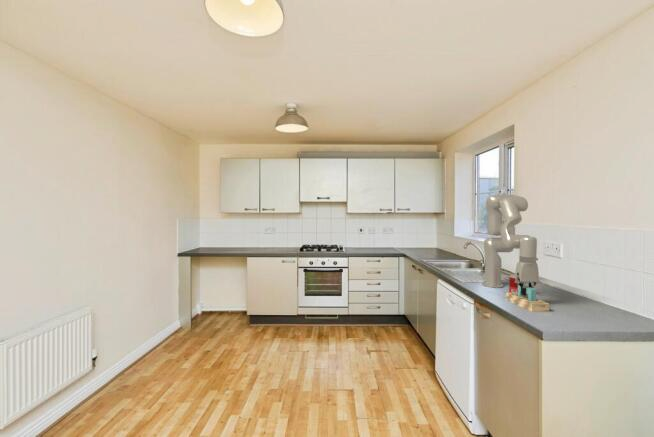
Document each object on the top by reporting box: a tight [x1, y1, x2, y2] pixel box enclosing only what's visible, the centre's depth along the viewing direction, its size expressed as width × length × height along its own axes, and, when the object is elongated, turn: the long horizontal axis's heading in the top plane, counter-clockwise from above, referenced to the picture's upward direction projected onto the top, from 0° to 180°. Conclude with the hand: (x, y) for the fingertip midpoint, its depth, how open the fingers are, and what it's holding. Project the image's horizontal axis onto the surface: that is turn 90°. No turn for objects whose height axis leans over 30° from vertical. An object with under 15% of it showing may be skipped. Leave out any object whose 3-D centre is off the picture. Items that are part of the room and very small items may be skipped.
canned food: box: [508, 274, 520, 293], centre depth 185 cm, size 8×8×11 cm
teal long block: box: [518, 285, 537, 301], centre depth 165 cm, size 10×3×7 cm, turn 4°
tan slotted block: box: [505, 292, 550, 313], centre depth 165 cm, size 20×9×4 cm, turn 4°
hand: (526, 294), depth 165 cm, fingers closed on teal long block, 2 cm apart
